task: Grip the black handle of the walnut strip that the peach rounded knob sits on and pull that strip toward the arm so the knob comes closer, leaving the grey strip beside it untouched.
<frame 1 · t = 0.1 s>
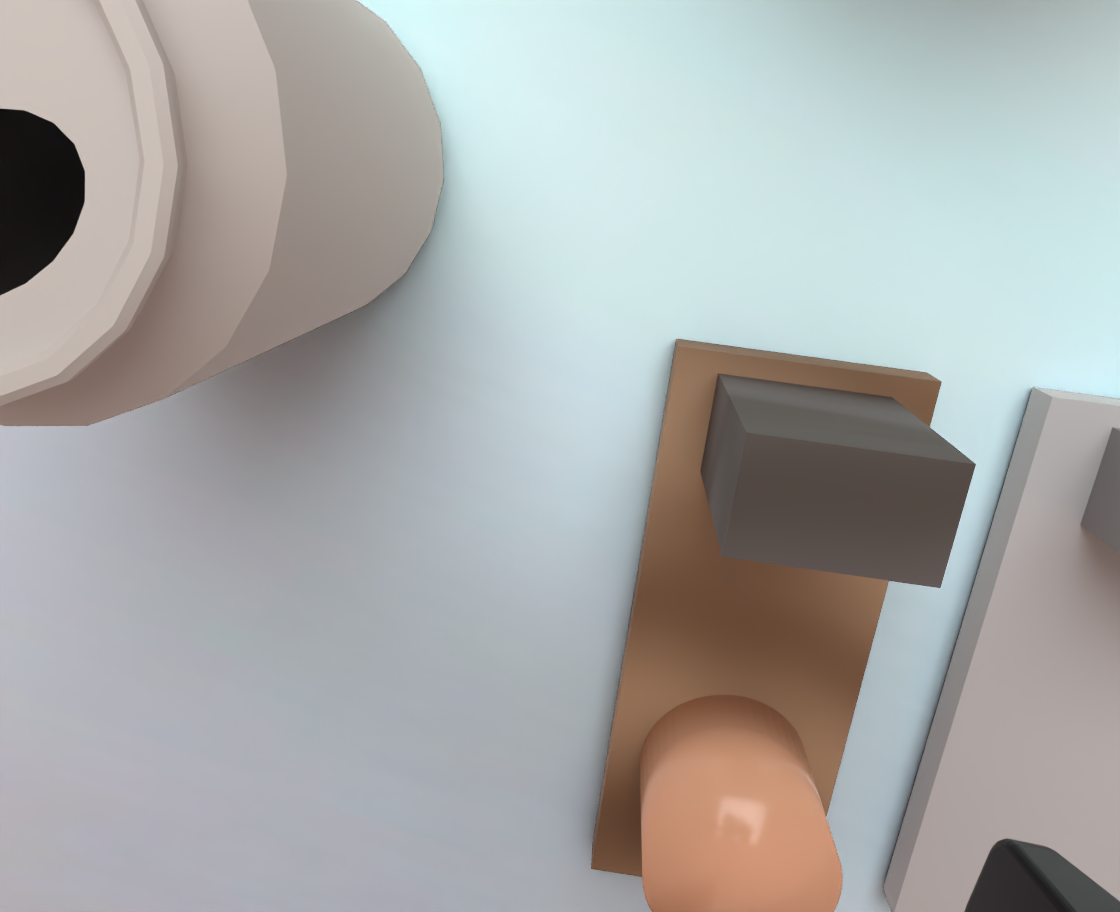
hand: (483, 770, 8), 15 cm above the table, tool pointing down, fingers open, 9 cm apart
walnut strip: (758, 695, 20), point 3 cm above the table, slide at 0.0 cm, touching peach rounded knob
peach rounded knob: (722, 766, 23), point 1 cm above the table, touching walnut strip
can: (297, 157, 21), on the table
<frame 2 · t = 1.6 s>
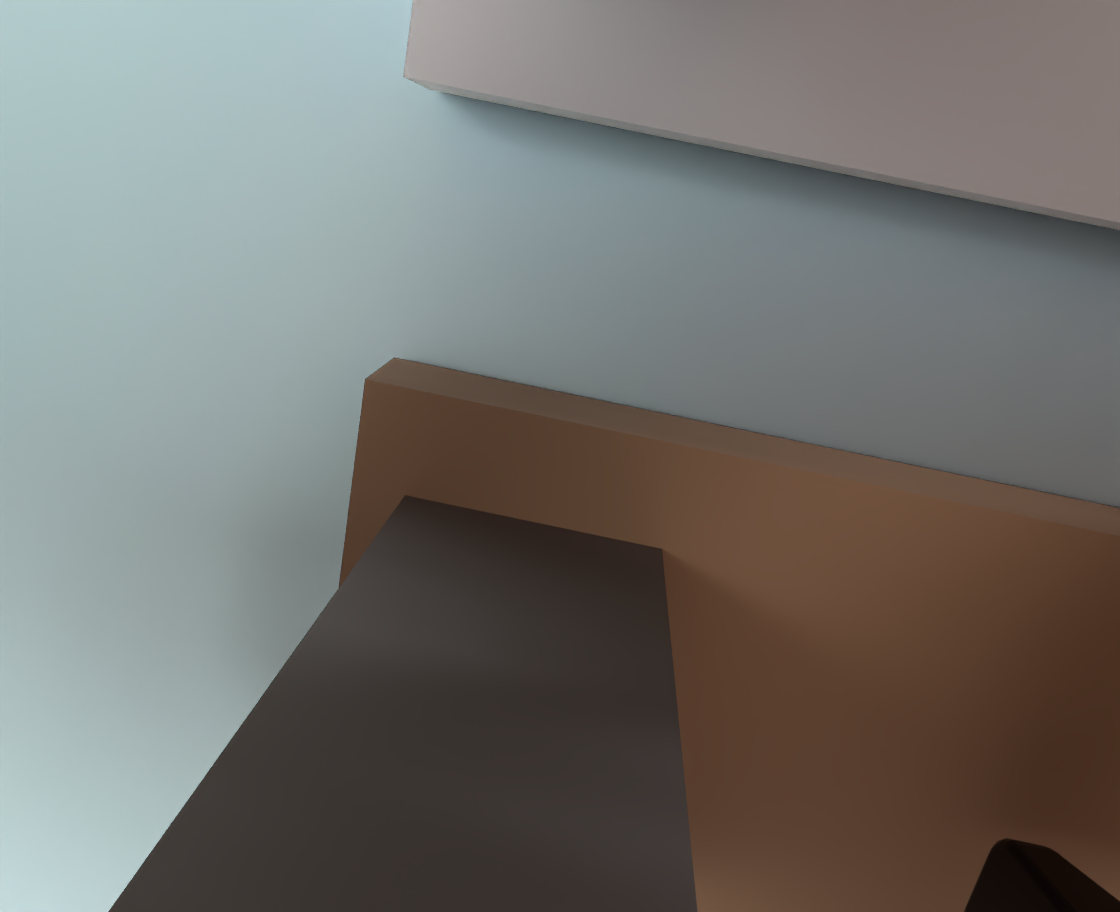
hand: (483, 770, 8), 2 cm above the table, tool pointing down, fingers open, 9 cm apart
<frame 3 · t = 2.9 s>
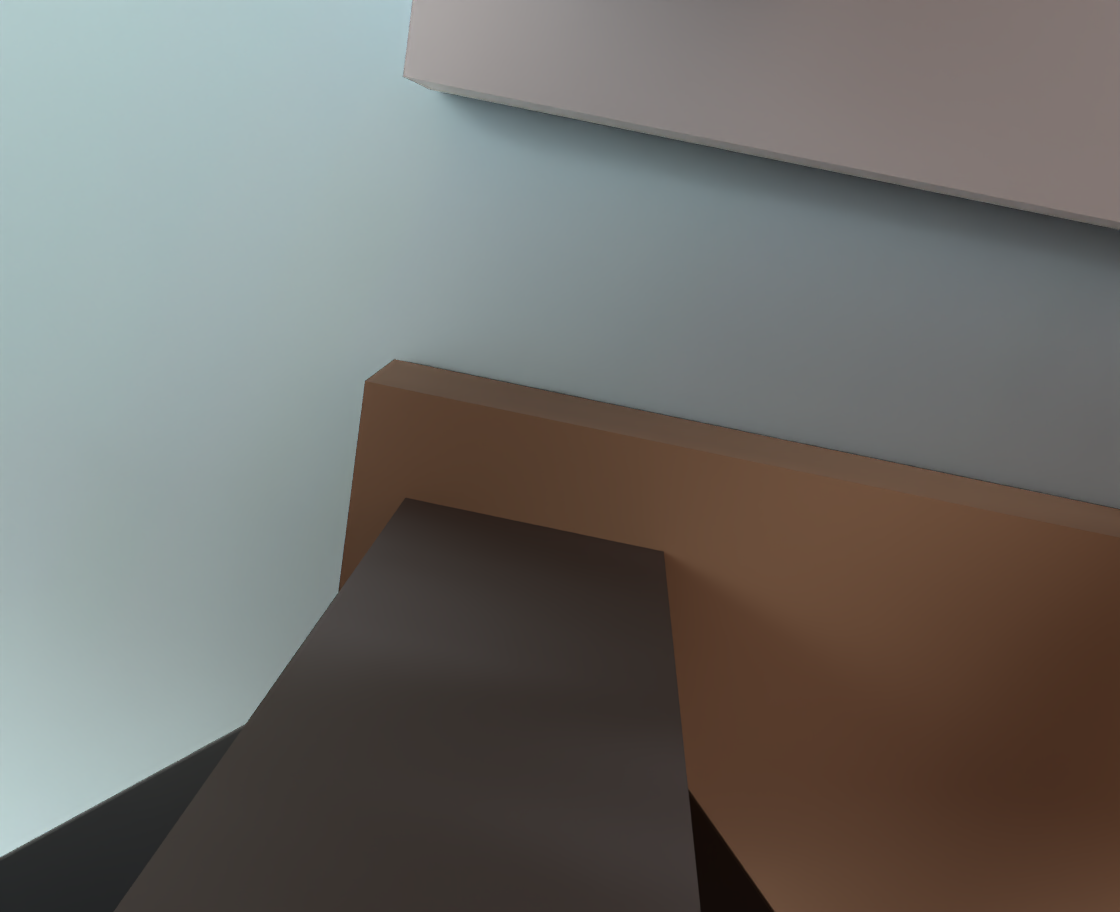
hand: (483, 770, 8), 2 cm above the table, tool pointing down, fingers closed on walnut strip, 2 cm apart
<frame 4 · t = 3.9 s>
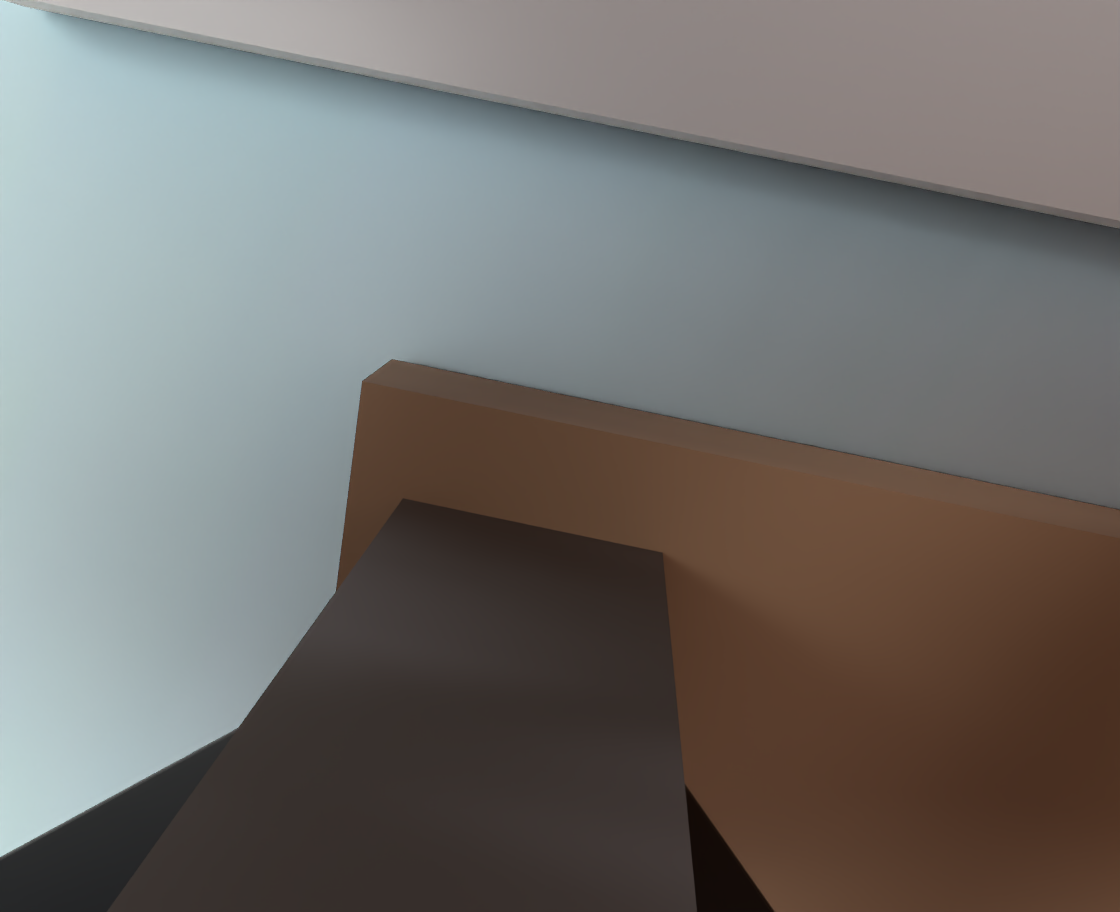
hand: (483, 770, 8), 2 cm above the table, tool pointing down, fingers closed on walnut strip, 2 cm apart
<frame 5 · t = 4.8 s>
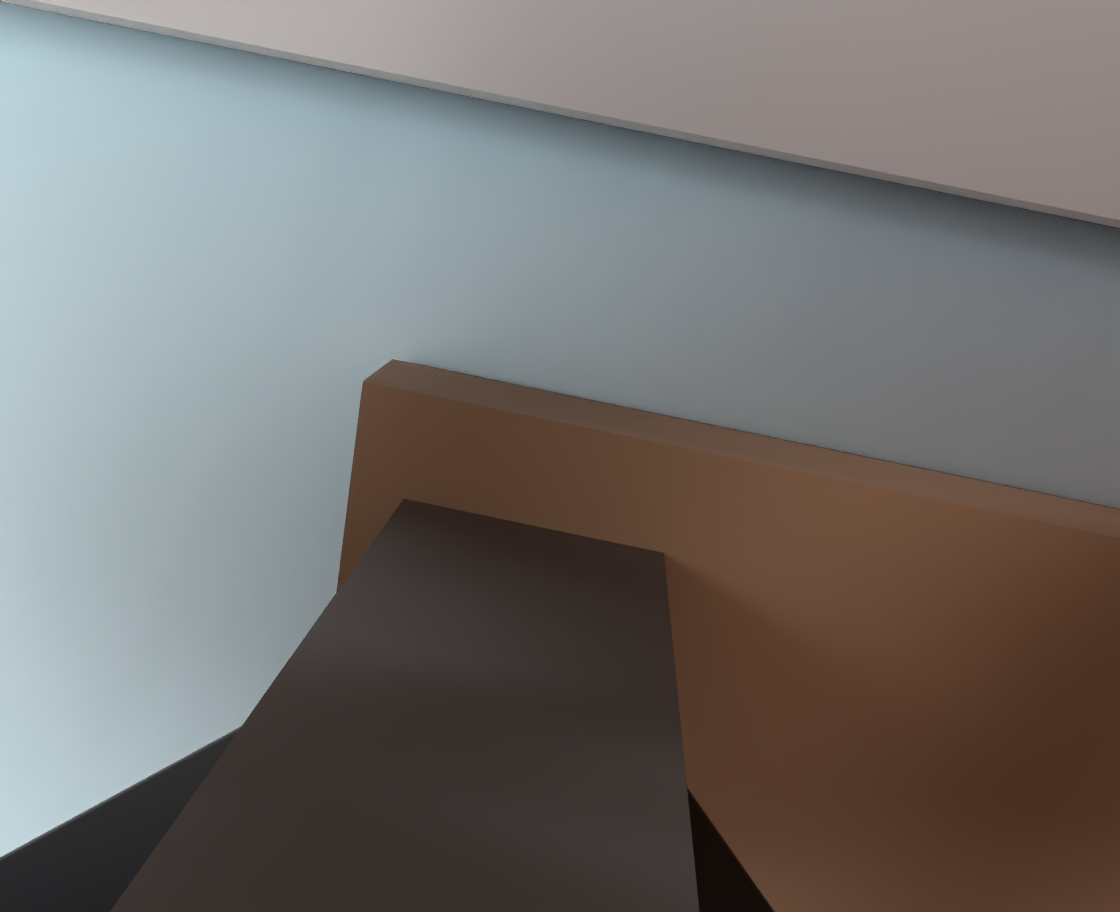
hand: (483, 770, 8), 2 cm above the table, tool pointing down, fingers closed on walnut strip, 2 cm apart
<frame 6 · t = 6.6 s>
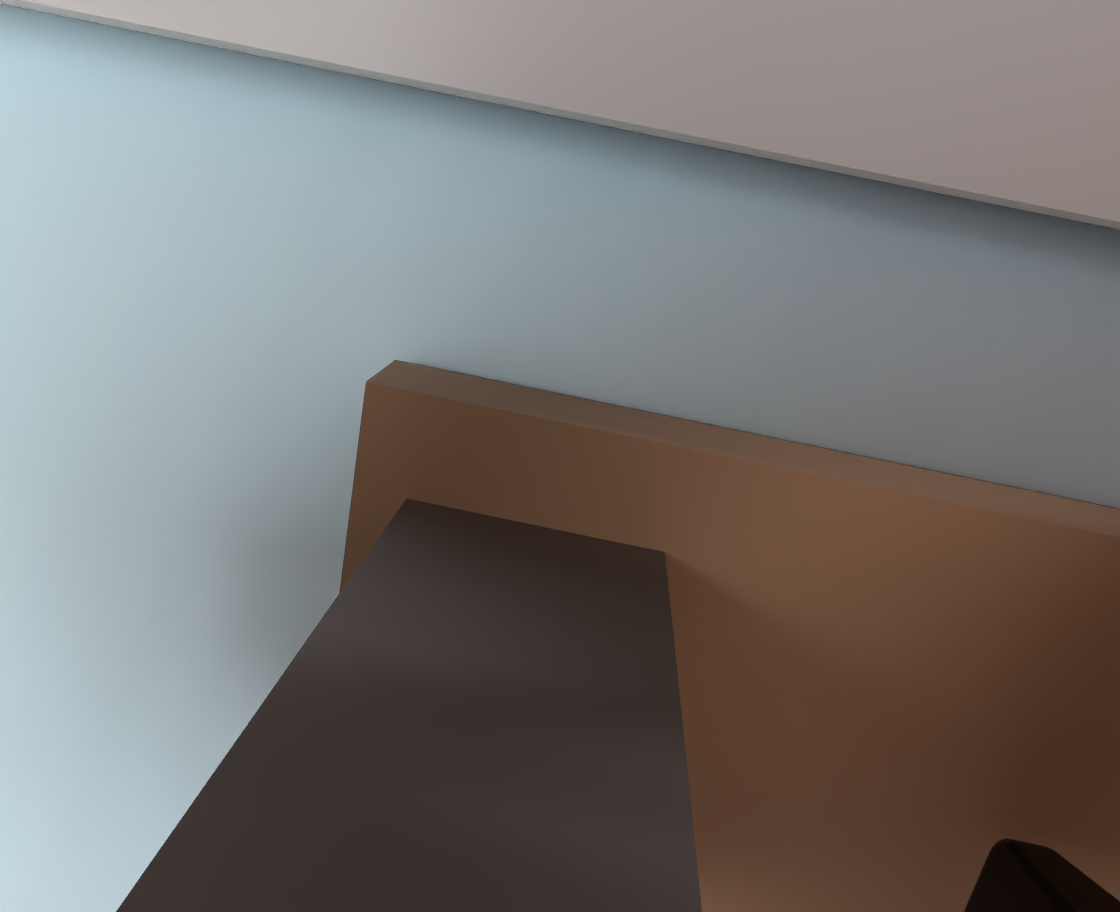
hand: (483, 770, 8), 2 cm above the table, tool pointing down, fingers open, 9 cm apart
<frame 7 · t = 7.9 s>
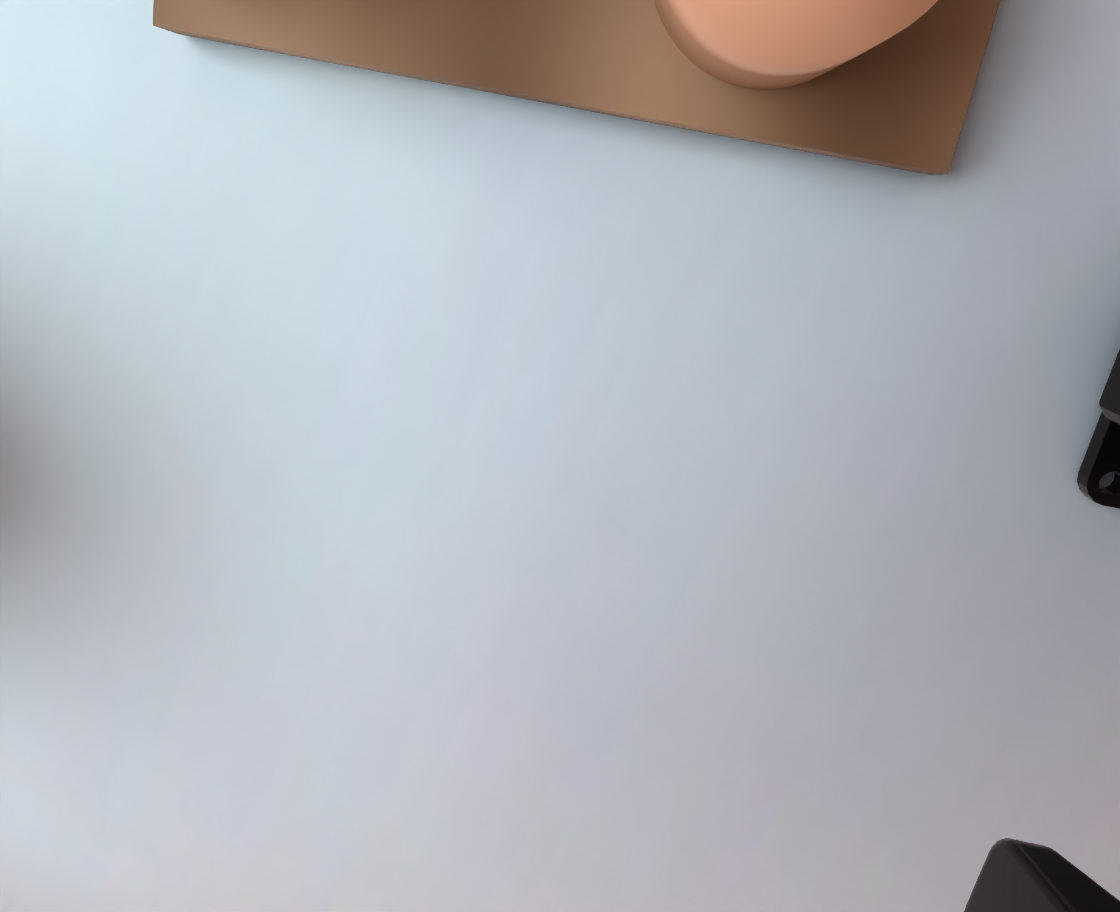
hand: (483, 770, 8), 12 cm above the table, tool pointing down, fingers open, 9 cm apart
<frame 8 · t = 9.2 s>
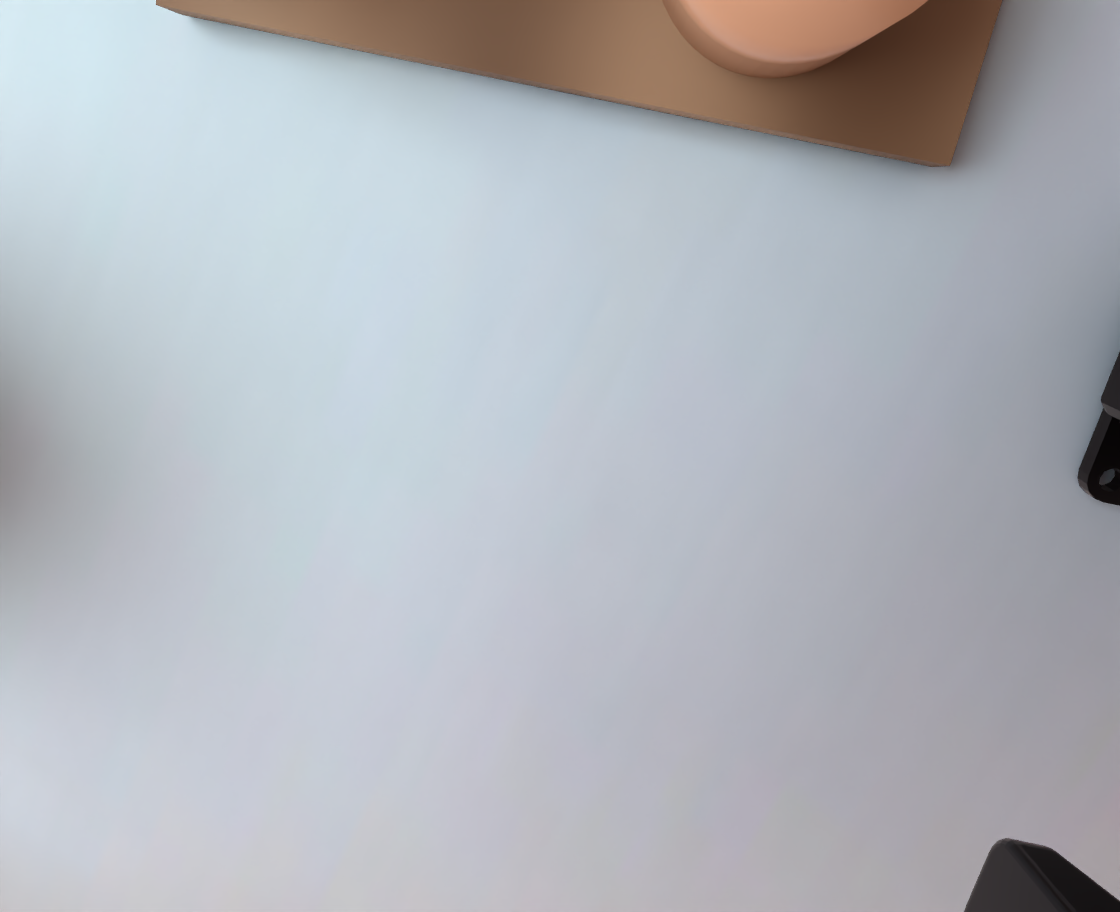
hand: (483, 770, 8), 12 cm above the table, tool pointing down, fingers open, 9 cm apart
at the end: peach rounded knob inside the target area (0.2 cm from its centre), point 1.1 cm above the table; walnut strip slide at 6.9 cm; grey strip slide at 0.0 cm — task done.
